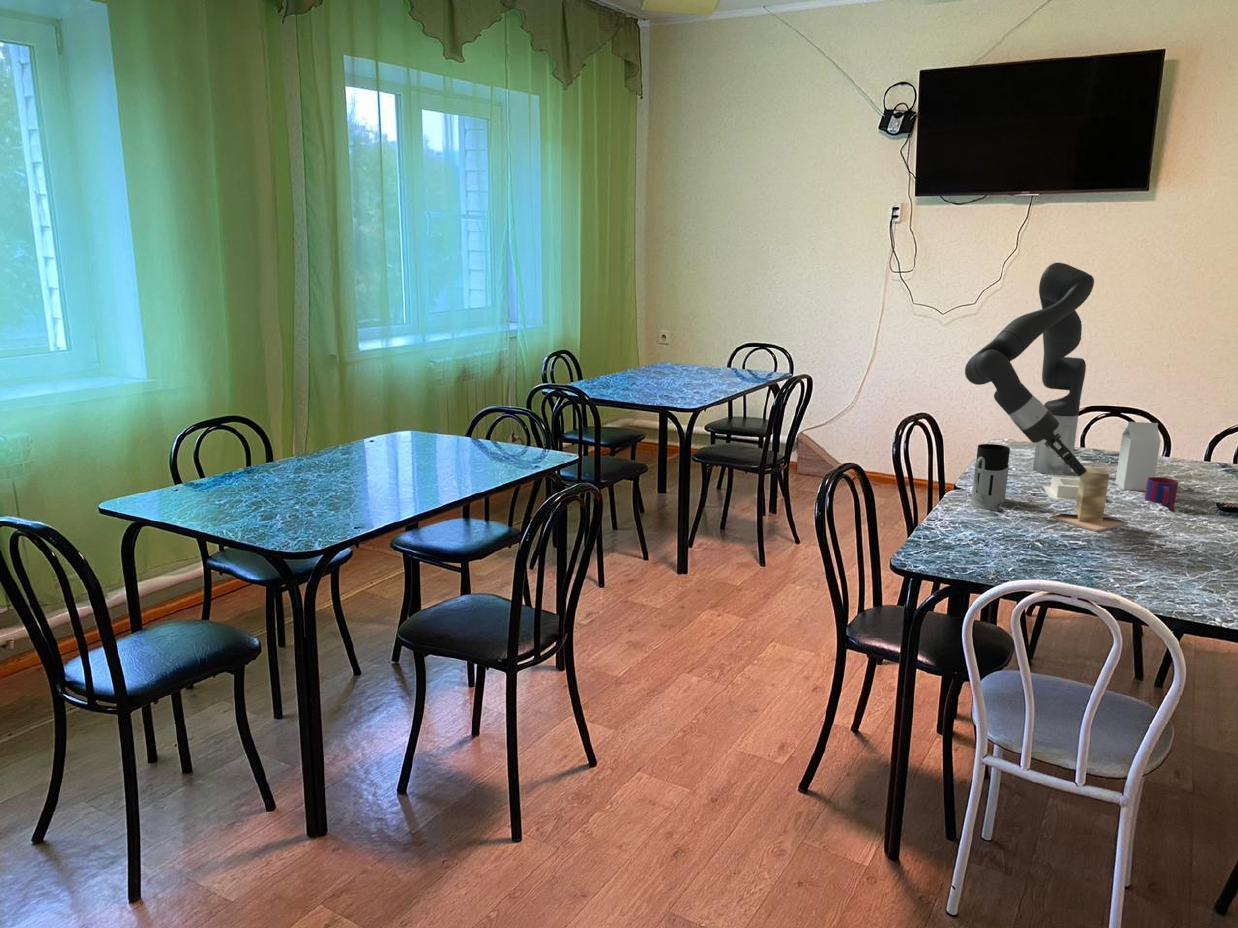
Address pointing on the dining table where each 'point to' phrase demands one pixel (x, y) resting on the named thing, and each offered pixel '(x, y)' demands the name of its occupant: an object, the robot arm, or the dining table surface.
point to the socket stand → (1063, 488)
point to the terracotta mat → (1105, 525)
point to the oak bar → (1092, 495)
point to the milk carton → (1138, 455)
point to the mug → (1162, 491)
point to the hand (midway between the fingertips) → (1079, 469)
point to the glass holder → (990, 476)
